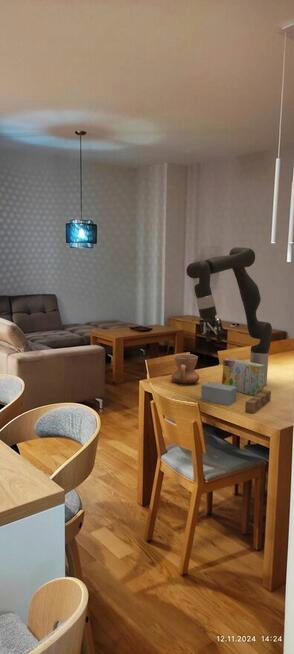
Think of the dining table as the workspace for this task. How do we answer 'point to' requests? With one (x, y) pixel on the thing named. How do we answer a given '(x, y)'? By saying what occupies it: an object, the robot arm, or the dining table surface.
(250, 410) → the notched wooden bar
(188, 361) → the ceramic jug
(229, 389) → the brick
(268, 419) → the dining table surface
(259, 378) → the snack box
